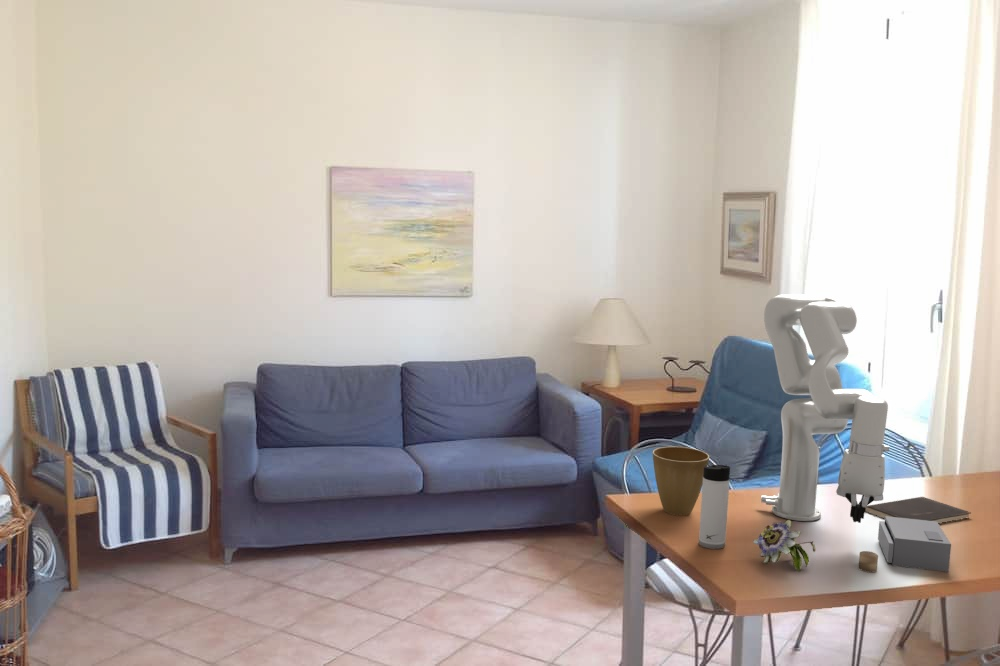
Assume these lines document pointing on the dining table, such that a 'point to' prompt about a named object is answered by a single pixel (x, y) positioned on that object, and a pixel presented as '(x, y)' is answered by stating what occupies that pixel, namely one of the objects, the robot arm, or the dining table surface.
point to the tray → (886, 541)
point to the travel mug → (714, 506)
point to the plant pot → (679, 477)
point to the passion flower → (781, 544)
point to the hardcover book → (918, 510)
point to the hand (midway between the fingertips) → (856, 520)
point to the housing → (919, 544)
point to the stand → (868, 561)
